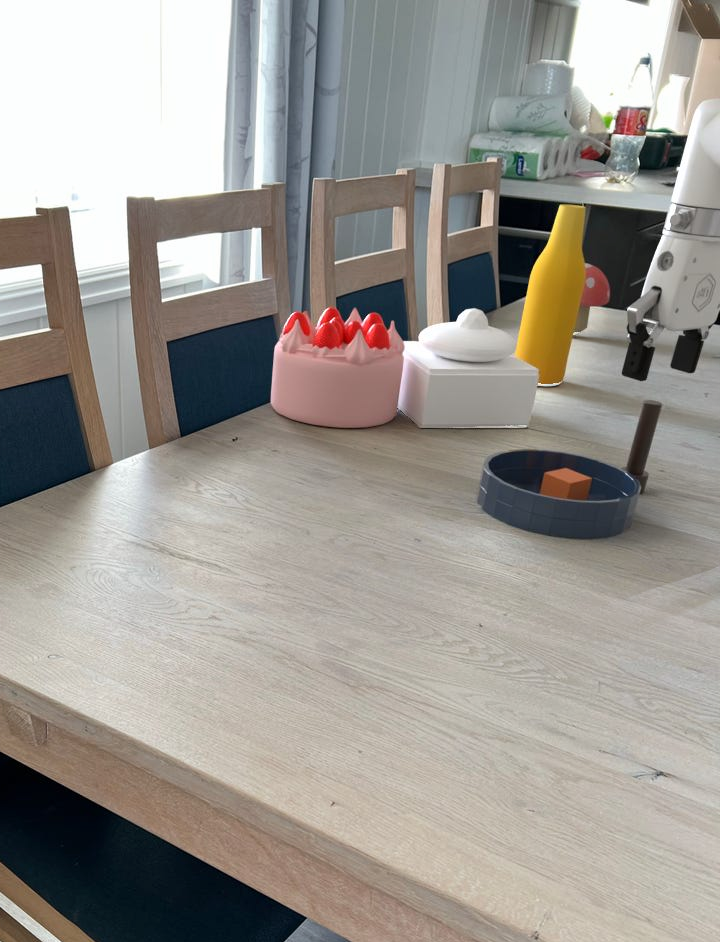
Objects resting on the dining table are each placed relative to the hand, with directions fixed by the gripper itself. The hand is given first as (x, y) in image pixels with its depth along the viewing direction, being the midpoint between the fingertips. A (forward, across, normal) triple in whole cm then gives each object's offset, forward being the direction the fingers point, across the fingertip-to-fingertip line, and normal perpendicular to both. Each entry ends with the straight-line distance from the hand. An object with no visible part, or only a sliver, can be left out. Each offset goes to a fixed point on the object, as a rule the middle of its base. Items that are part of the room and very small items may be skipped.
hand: (658, 374), depth 119 cm
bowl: (+15, -15, 0) cm, 22 cm away
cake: (+16, -13, +44) cm, 49 cm away
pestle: (+15, 0, 0) cm, 15 cm away
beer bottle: (+16, +34, +44) cm, 58 cm away
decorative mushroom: (+16, +72, +68) cm, 101 cm away
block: (+15, -14, 0) cm, 20 cm away
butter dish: (+16, +5, +36) cm, 40 cm away
